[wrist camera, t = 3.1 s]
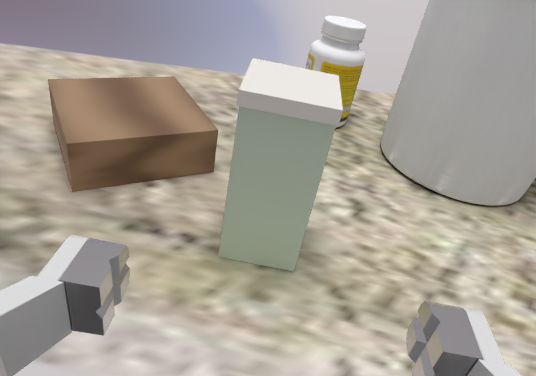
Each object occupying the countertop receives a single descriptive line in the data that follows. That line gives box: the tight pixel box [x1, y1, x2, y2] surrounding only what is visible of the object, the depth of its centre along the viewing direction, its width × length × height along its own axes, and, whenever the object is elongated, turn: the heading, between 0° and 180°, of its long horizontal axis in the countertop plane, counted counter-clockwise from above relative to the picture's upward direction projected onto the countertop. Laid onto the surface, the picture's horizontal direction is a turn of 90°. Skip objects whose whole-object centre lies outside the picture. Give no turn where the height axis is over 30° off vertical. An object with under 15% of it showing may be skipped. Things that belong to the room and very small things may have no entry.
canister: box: [218, 58, 343, 272], centre depth 24 cm, size 5×5×11 cm
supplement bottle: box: [305, 16, 366, 128], centre depth 41 cm, size 5×5×10 cm
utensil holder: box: [381, 0, 536, 206], centre depth 36 cm, size 15×15×18 cm
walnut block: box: [48, 77, 218, 192], centre depth 32 cm, size 10×10×4 cm
